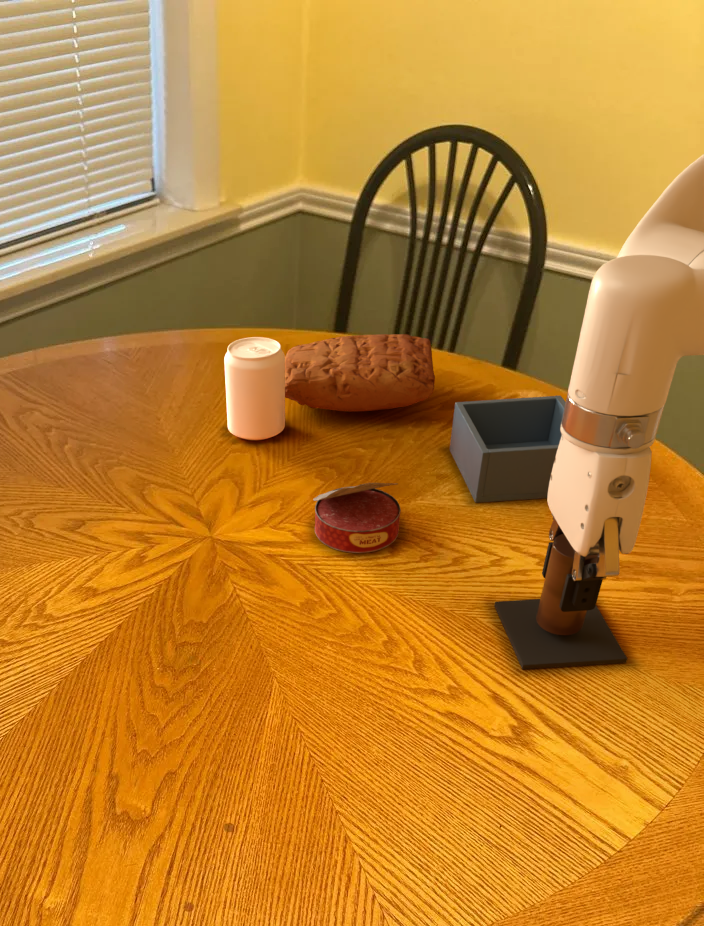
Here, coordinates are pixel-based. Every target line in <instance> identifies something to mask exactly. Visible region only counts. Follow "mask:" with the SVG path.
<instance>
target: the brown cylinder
mask: <svg viewBox="0 0 704 926" xmlns="http://www.w3.org/2000/svg"><path fill="white" fill-rule="evenodd" d="M552 542H553V545H552V550H551V554H550V559H549V563H548V568H547V572H546V576H545V578H544V581H543V585H542V590H541V593H540V594H541V595H540V598H539V599H540V603H539V607H538V612H537V616H536V620H537V623H538V624H539V626H540V627H541V628H543V629H544V630H546V631H548V632H550V633H553V634H557V635H572V634H575V633H577V632H579V631H580V630H581V629H582V627H583V623H584V619H585V616H586V612H587V610H586V611H570V612H563V611H561V609H560V607H559V605H560V601H561V597H562V593H563V589H564V585H565V581H566V577H567V574H572V568H573V560H574V552H575V550H574V549H573V547H572V546H571V544H570V543H569V541H568V539H567V538H566V536H565V535H564V534H561V535H559V536H557V537H556V538H555V539H554V541H552ZM596 544H599V541H598V542H597V543H596ZM597 561H598V555H587V556H585V562H584V566H585V565H587V564H591V563H597Z"/></svg>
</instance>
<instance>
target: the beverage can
mask: <svg viewBox="0 0 704 926" xmlns="http://www.w3.org/2000/svg"><path fill="white" fill-rule="evenodd" d="M285 357H286V355H285V353H284V351H283V349H282V345H281V343H280V342H279V341H277V340H275V339H273V338H270V337H263V336H252V337H251V336H250V337H243V338H239V339H236V340H234V341H232V342H231V343H229V345H228V346H227V351H226V352H225V355H224V359H223V363H224V381H225V398H226V400H225V402H226V418H227V419H226V420H227V430H228V431H229V432H230V433H231V434H232V435H233V436H234V437H237V438H240V439H243V440H248V441H262V440H267V439H270V438H272V437H275V436H277V435H279V434H281V433H282V432H283V431H284V429H285V427H286V397H285Z"/></svg>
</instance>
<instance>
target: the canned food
mask: <svg viewBox="0 0 704 926" xmlns="http://www.w3.org/2000/svg"><path fill="white" fill-rule="evenodd" d="M395 485H398V483H390V482H385V483H384V482H367V483H361V484H358V485H355V486H353V485H352V486H344V487H339V488H335V489H332V490H329V491H327V492H325V493H321V494H319V495H317V496H316V497H314V498H313V499H312V500H313V502H315V506H314V510H315V511H314V513H315V514H314V518H315V519H314V533H315V536H316V537H317V539H318V540H319V542H320V543H322V544H323V545H325V546H327V547H328V548H330V549H333V550H336V551H338V552H343V553H350V554H366V553H374V552H377V551H380V550H383V549H385V548H387V547H389V546H390V545H392V544H393V543H394V542H395V541H396V539H397V538H398V536H399V533H400V532H399V531H400V530H399V529H400V518H401V512H402V510H401V505H400V503H399V501H398V500H397V499H396V498H395V497H394V496H393V495H392V494H390V493H388V492H386V491H384V490H381V489H380V488H385V487H390V486H395Z"/></svg>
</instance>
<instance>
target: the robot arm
mask: <svg viewBox="0 0 704 926" xmlns="http://www.w3.org/2000/svg"><path fill="white" fill-rule="evenodd" d="M689 356H704V153H703V154H701V155H700V156H699V157H698V158H696V159H694V161H693V162H691V163H690V164H689V165H688V166H686V167H685V168H683V170H682V171H680V173H679V174H678V175H677V176H676V177H675V178H673V180H672V181H671V182H670V183H669V184H668V185H667V186H666V188H665V189H664V190H663V192H662V193H661V194H660V195H659V197H658V198H657V199H656V200H655V201H654V203H653V204H652V205H651V207H649V209H648V210H647V211H646V213H644V215H643V216H642V217H641V219H640V221H638V223H637V225H635V227H634V228H633V230H632V232H631V233H630V234H629V236H628V237H627V238H626V240H625V241H624V244H622V247H621V249H620V250H619V252H618V254H617V256H616V257H615V258H612V259H609V260H608V261H606V262H605V263H603V264H602V265H601V266H600V267H598V269H597V270H596V272H595V273H594V275H593V277H592V279H591V283H590V287H589V289H588V295H587V300H586V305H585V309H584V314H583V319H582V323H581V328H580V333H579V339H578V343H577V348H576V352H575V357H574V362H573V366H572V370H571V376H570V381H569V384H568V390H567V395H566V399H565V402H566V403H565V408H564V413H563V418H562V422H561V427H560V431H561V434H562V436H561V440H560V443H559V446H558V450H557V453H556V457H555V461H554V464H553V469H552V473H551V477H550V482H549V488H548V496H547V498H546V499H547V505H548V508H549V510H550V513H551V516H552V520H553V521H552V522H551V526H550V528H549V530H548V538H549V540H550V542H548V544H547V548H546V552H545V553H546V554H545V557H544V563H543V567H542V571H541V575H542V577H543V579H545V576H546V572H547V568H548V563H549V559H550V554H551V550H552V545H553V541H554V539H555V538H556V537H557V536H559V535H561V534H564V535H565V536H566V538H567V539H568V541H569V543H570V544H571V546H572V547H573V549H574V550H575V552H574V560H573V568H572V574H567V577H566V581H565V585H564V589H563V593H562V597H561V601H560V605H559V607H560V609H561V611H563V612H570V611H586V610H593V609H594V608H595V606H597V602H598V598H599V595H600V592H601V588H602V585H603V580H606V579H607V578H610V577H618V576H619V575H620V553H621V554H622V555H630V554H631V553H632V551H633V550H634V548H635V546H636V543H637V537H638V536H639V534H638V533H639V530H640V527H641V522H642V518H643V515H644V509H645V504H646V499H647V496H648V490H649V483H650V475H651V468H652V456H653V455H652V454H653V451H652V450H651V447H652V445H653V444H654V443H655V440H656V437H657V434H658V430H659V426H660V424H661V420H662V417H663V413H664V409H665V406H666V402H667V399H668V396H669V392H670V388H671V385H672V382H673V378H674V375H675V372H676V368H677V364H678V362H679V360H680V359H681V358H683V357H689ZM598 541H599V544H596V543H597V542H598ZM587 555H598V561H597V563H591V564H587V565H585V566H584V562H585V556H587Z"/></svg>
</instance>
